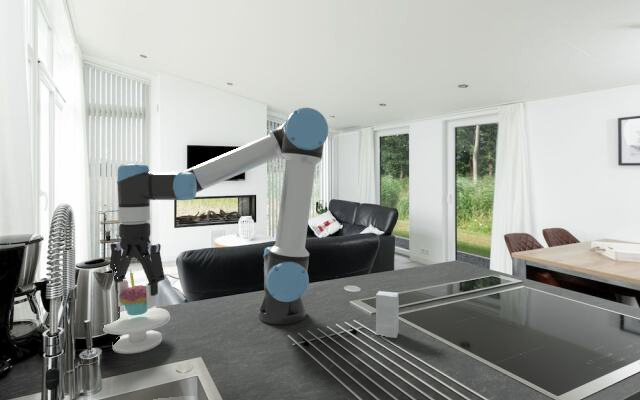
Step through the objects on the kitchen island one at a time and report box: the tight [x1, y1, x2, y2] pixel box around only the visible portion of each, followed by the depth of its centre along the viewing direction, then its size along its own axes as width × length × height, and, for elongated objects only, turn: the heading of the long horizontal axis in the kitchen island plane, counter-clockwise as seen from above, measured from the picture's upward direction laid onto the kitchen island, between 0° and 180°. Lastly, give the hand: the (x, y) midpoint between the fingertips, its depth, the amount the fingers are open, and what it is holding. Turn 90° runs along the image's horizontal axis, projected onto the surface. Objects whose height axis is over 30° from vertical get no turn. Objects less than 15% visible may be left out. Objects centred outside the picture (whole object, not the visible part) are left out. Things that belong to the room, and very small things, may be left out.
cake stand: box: [102, 306, 171, 355], centre depth 101 cm, size 17×17×7 cm
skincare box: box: [375, 290, 400, 339], centre depth 107 cm, size 6×4×12 cm
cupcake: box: [119, 270, 148, 315], centre depth 100 cm, size 9×8×12 cm
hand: (137, 305), depth 100 cm, fingers closed on cupcake, 8 cm apart
